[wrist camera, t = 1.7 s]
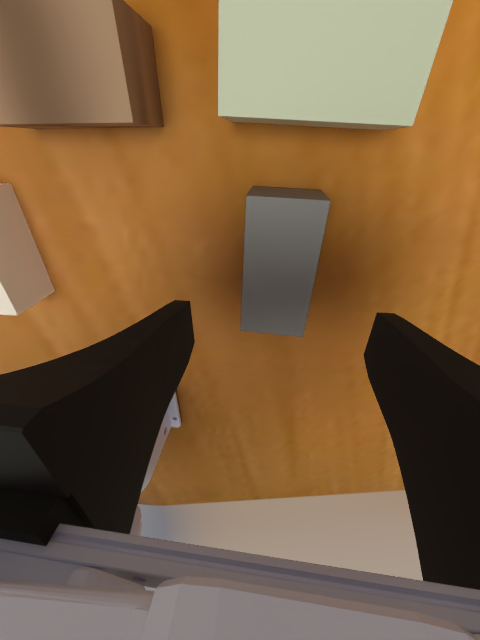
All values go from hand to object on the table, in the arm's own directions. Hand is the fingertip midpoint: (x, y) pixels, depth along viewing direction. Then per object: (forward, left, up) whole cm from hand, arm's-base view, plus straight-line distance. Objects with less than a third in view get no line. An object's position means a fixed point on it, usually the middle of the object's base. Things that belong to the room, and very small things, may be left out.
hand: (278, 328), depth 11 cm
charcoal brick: (0, 0, -9) cm, 9 cm away
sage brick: (+9, -1, -9) cm, 13 cm away
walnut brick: (+9, +11, -9) cm, 17 cm away
